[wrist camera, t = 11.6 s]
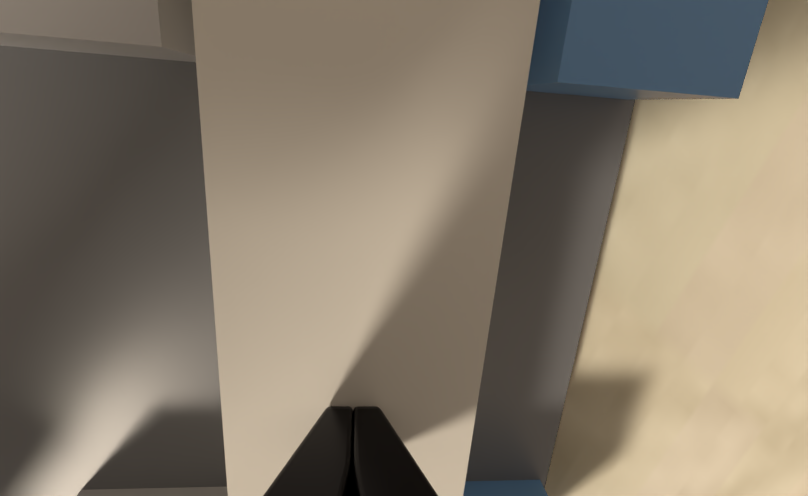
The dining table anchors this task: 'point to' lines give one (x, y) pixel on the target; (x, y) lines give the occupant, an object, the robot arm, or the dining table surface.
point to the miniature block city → (190, 252)
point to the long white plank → (356, 214)
